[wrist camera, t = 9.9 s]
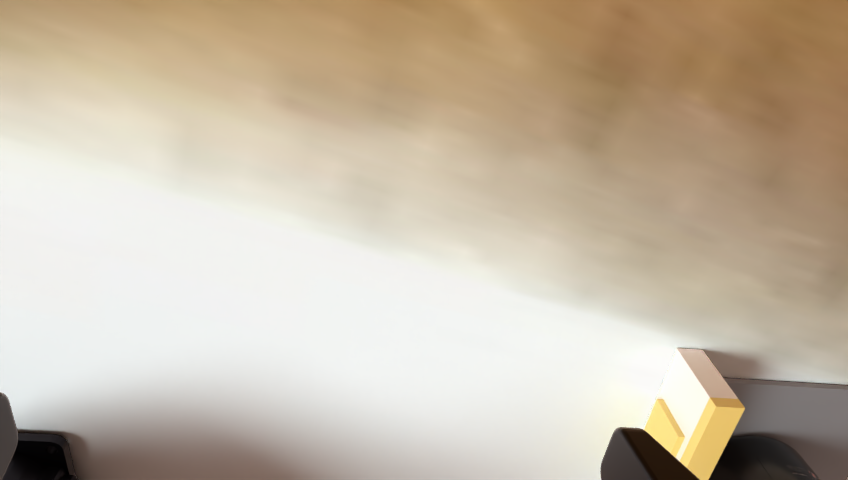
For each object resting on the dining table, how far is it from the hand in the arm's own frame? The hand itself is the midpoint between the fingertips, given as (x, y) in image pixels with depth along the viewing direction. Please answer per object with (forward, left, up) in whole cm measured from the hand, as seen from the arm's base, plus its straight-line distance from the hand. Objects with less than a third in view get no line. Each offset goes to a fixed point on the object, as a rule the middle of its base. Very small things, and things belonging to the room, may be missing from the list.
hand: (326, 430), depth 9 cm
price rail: (+15, -15, -13) cm, 25 cm away
